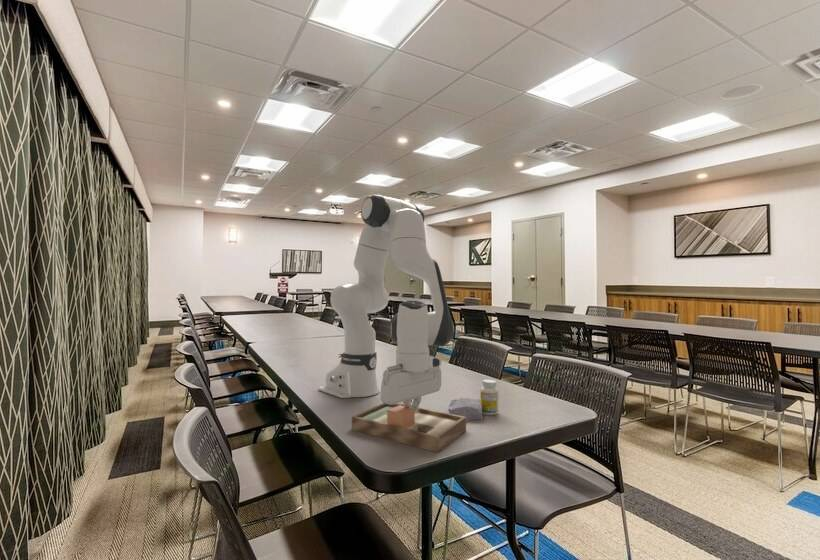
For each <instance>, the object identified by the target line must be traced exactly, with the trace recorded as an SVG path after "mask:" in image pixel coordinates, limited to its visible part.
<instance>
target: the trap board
mask: <svg viewBox="0 0 820 560" xmlns="http://www.w3.org/2000/svg"><path fill="white" fill-rule="evenodd" d="M399 405H401V406H405V405H404V403H396V404H393V405H389V404H385V403H383V402H382V403H380V404H378V405H375V406H373V407H371V408H369V409H366V410H364V411H362V412H359V413H357V414H355V415H353V416H351V430H352V431H356V432H359V433H363V434H367V435H371V436H374V437H378V438H382V439H386V440H390V441H394V442H397V443H401V444H405V445H408V446H412V447H416V448H420V449H424V450H426V451H427V450H428V451H431V452H435V453H439V452H440V451H441V450H442V449H444V448H446V447H447V446H448V445H449V444H450V443H451V442H453V441H454V440H456V438H458V437H459V436H460V435H461V434H463V433H464V432H465V431H466V430H467V420H466V417H463V416H458V415H453V414H450V413H448V412H444V411H438V410H433V409H430V408H429V409H428V408H423V407H418V413H417V414H415V424H414V425H413V426H410V427H408V428H402V427H398V426H394V425H390V424H387V410H388V409H391V408H394V407H397V406H399Z"/></svg>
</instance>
